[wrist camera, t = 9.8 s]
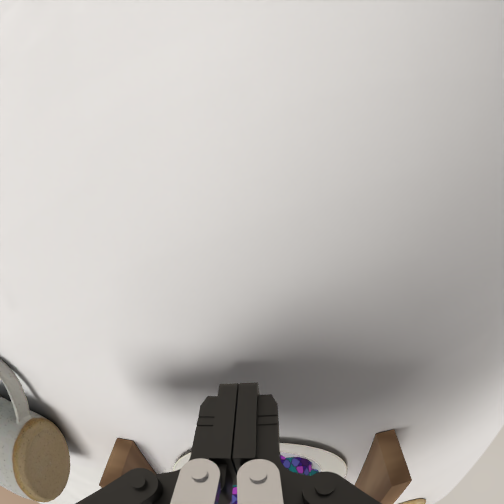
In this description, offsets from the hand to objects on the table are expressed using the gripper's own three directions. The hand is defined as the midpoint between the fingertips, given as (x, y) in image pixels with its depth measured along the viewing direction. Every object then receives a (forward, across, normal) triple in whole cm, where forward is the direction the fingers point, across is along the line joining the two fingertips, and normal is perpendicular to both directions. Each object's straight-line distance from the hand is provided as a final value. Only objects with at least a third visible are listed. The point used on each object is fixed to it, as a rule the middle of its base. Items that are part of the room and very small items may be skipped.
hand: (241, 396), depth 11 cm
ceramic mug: (+2, +18, +5) cm, 19 cm away
